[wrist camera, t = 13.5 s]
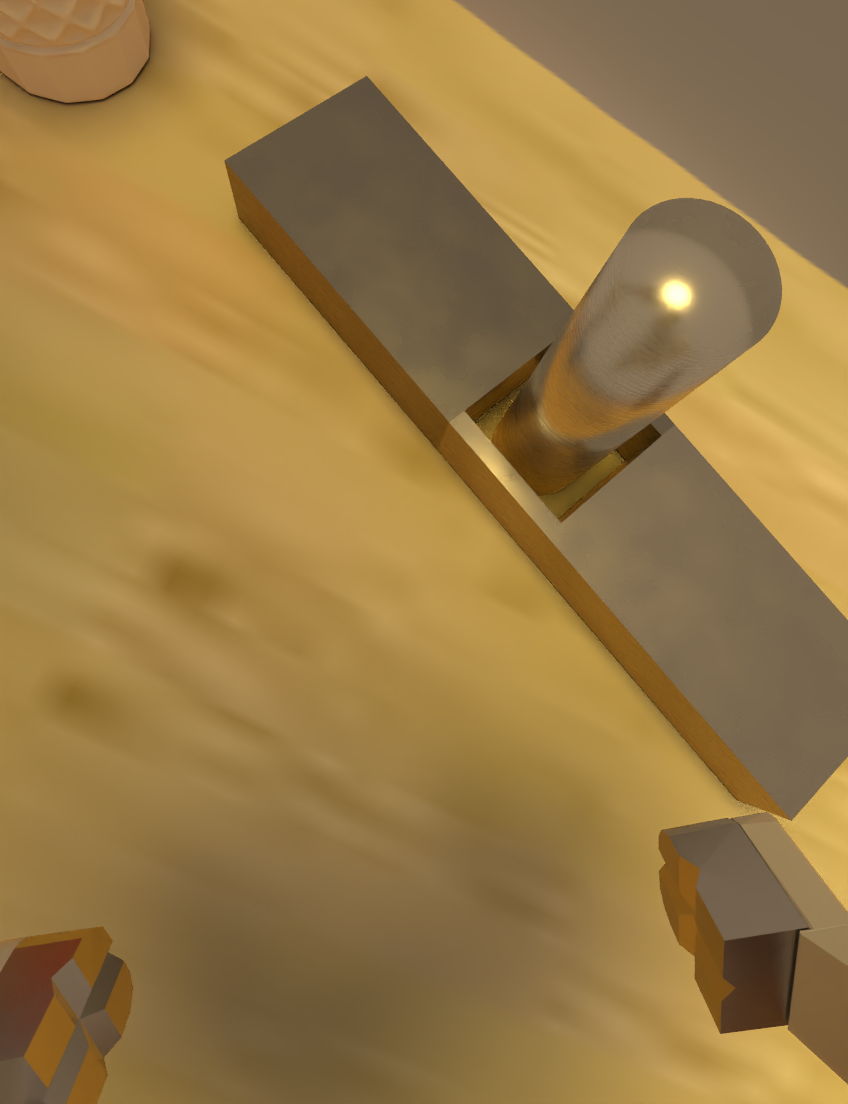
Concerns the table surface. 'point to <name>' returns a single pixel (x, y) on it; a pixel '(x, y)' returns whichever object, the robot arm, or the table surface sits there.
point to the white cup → (73, 46)
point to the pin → (642, 338)
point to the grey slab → (552, 544)
